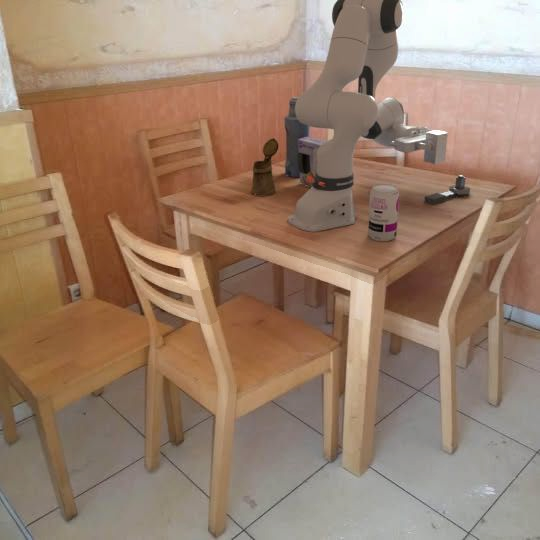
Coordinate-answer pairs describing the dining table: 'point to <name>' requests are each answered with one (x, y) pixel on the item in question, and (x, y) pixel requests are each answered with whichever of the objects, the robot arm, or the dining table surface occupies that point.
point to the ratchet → (450, 192)
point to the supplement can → (383, 212)
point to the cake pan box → (308, 158)
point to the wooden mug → (264, 171)
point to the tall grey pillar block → (436, 146)
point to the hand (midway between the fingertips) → (437, 146)
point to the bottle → (293, 139)
